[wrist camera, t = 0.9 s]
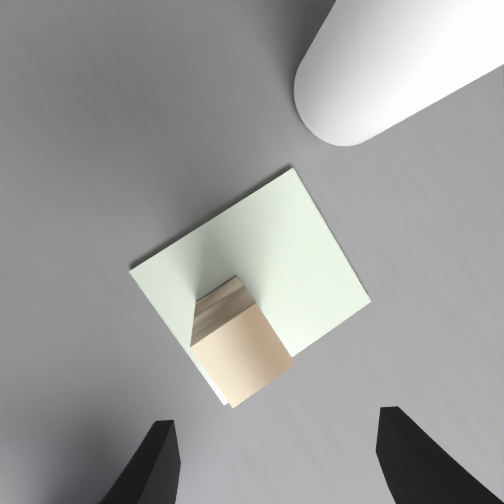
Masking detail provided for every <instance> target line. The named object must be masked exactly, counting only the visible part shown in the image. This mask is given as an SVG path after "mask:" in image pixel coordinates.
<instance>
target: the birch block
mask: <svg viewBox="0 0 504 504" xmlns="http://www.w3.org/2000/svg"><path fill="white" fill-rule="evenodd" d="M190 349H191V350H192V351H193V353H194V354H195V356H196V357H197V358H198V360H199V361H200V363H201V364H202V365H203V367H204V368H205V370H206V371H207V373H208V374H209V375H210V377H211V378H212V380H213V381H214V382H215V384H216V385H217V387H218V388H219V389H220V391H221V392H222V394H223V395H224V396H225V398H226V399H227V401H228V402H229V403H230V405H231V406H232V408H234V407H236V406H237V405H238V404H240V403H241V402H243V401H244V400H245V399H247V398H248V397H250V396H251V395H253V394H254V393H255V392H257V391H258V390H260V389H261V388H262V387H264V386H265V385H267V384H268V383H269V382H271V381H272V380H274V379H275V378H277V377H278V376H279V375H281V374H282V373H284V372H285V371H286V370H288V369H289V368H291V367H292V366H293V365H295V364H296V363H295V362H294V360H293V359H292V357H291V355H290V354H289V352H288V351H287V349H286V348H285V346H284V345H283V343H282V342H281V340H280V339H279V337H278V336H277V334H276V332H275V331H274V329H273V328H272V326H271V325H270V323H269V322H268V320H267V319H266V317H265V316H264V314H263V313H262V311H261V309H260V308H259V306H258V305H257V303H256V302H255V300H254V299H253V298H252V296H251V295H250V294H249V292H248V291H247V289H246V288H245V287H244V285H243V284H242V282H241V281H240V280H239V278H238V277H237V276H236V275H235V276H233V277H232V278H230V279H229V280H227V281H226V282H224V283H223V284H221V285H220V286H218V287H217V288H215V289H214V290H212V291H211V292H209V293H208V294H206V295H205V296H203V297H202V298H200V299H198V300H197V301H196V303H195V311H194V319H193V327H192V335H191V343H190Z"/></svg>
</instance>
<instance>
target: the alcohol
mask: <svg viewBox="0 0 504 504" xmlns="http://www.w3.org/2000/svg"><path fill="white" fill-rule="evenodd" d="M502 64H504V0H336V2H335V4H334V5H333V7H332V9H331V11H330V12H329V14H328V16H327V18H326V19H325V21H324V23H323V25H322V26H321V28H320V30H319V32H318V33H317V35H316V37H315V39H314V40H313V42H312V44H311V46H310V47H309V49H308V51H307V53H306V54H305V56H304V58H303V60H302V61H301V63H300V65H299V67H298V70H297V73H296V76H295V81H294V100H295V104H296V108H297V111H298V113H299V115H300V117H301V119H302V121H303V122H304V124H305V125H306V127H307V128H308V129H309V130H310V131H311V132H312V133H313V134H314V135H315V136H317V137H318V138H320V139H321V140H323V141H325V142H327V143H330V144H332V145H338V146H352V145H356V144H360V143H362V142H364V141H366V140H368V139H370V138H372V137H374V136H375V135H377V134H379V133H381V132H382V131H384V130H386V129H388V128H390V127H391V126H393V125H395V124H397V123H399V122H400V121H402V120H404V119H406V118H408V117H409V116H411V115H413V114H415V113H416V112H418V111H420V110H422V109H424V108H425V107H427V106H429V105H431V104H433V103H434V102H436V101H438V100H440V99H441V98H443V97H445V96H447V95H449V94H450V93H452V92H454V91H456V90H458V89H459V88H461V87H463V86H465V85H467V84H468V83H470V82H472V81H474V80H475V79H477V78H479V77H481V76H483V75H484V74H486V73H488V72H490V71H492V70H493V69H495V68H497V67H499V66H501V65H502Z"/></svg>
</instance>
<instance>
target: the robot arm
mask: <svg viewBox="0 0 504 504" xmlns="http://www.w3.org/2000/svg"><path fill="white" fill-rule="evenodd" d="M376 454H377V457H378V460H379V463H380V465H381V468H382V471H383V474H384V477H385V479H386V482H387V485H388V487H389V490H390V492H391V494H392V496H393V498H394V501H395V503H396V504H504V502H502V501H501V500H500V499H499V498H498V497H496V496H495V495H494V494H493V493H492V492H490V491H489V490H488V489H487V488H486V487H485V486H483V485H482V484H481V483H480V482H479V481H478V480H476V479H475V478H474V477H473V476H472V475H471V474H470V473H468V472H467V471H466V470H465V469H464V468H463V467H462V466H461V465H460V464H458V463H457V462H456V461H455V460H454V459H453V458H452V457H451V456H450V455H449V454H447V453H446V452H445V451H444V450H443V449H442V448H441V447H440V446H439V445H438V444H437V443H436V442H435V441H434V440H433V439H431V438H430V437H429V436H428V435H427V434H426V433H425V432H424V431H423V430H422V429H421V428H420V427H419V426H418V425H417V424H416V423H415V422H414V421H413V420H412V419H411V418H410V417H409V416H408V415H406V414H405V413H404V412H403V411H402V410H401V409H400V408H399V407H398V406H396V407H381V408H380V417H379V426H378V435H377V444H376ZM180 466H181V462H180V456H179V449H178V443H177V437H176V431H175V425H174V420H164V421H156V422H155V423H154V424H153V425H152V427H151V428H150V430H149V432H148V433H147V435H146V437H145V438H144V440H143V441H142V443H141V444H140V446H139V448H138V449H137V451H136V452H135V454H134V455H133V457H132V458H131V460H130V461H129V463H128V464H127V466H126V467H125V469H124V470H123V472H122V473H121V475H120V476H119V477H118V479H117V480H116V482H115V483H114V485H113V486H112V488H111V489H110V490H109V492H108V493H107V494H106V496H105V497H104V499H103V500H102V501H101V503H100V504H175V501H176V494H177V488H178V481H179V473H180Z"/></svg>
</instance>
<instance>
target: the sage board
mask: <svg viewBox="0 0 504 504" xmlns="http://www.w3.org/2000/svg"><path fill="white" fill-rule="evenodd" d="M129 273H130V274H131V275H132V277H133V278H134V280H135V281H136V282H137V284H138V285H139V287H140V288H141V289H142V291H143V292H144V294H145V295H146V296H147V298H148V299H149V301H150V302H151V303H152V305H153V306H154V308H155V309H156V310H157V312H158V313H159V315H160V316H161V317H162V319H163V320H164V322H165V323H166V324H167V326H168V327H169V329H170V330H171V331H172V333H173V334H174V336H175V337H176V338H177V340H178V341H179V343H180V344H181V345H182V347H183V348H184V350H185V351H186V352H187V354H188V355H189V357H190V358H191V359H192V361H193V362H194V364H195V365H196V366H197V368H198V369H199V371H200V372H201V373H202V375H203V376H204V378H205V379H206V380H207V382H208V383H209V385H210V386H211V387H212V389H213V390H214V392H215V393H216V394H217V396H218V397H219V399H220V400H221V401H222V403H223V404H224V405H225V404H227V403H228V401H227V399H226V398H225V396H224V395H223V394H222V392H221V391H220V389H219V388H218V387H217V385H216V384H215V382H214V381H213V380H212V378H211V377H210V375H209V374H208V373H207V371H206V370H205V368H204V367H203V365H202V364H201V363H200V361H199V360H198V358H197V357H196V356H195V354H194V353H193V351H192V350H191V349H190V343H191V335H192V327H193V319H194V311H195V303H196V301H197V300H198V299H200V298H202V297H203V296H205V295H206V294H208V293H209V292H211V291H212V290H214V289H215V288H217V287H218V286H220V285H221V284H223V283H224V282H226V281H227V280H229V279H230V278H232V277H233V276H235V275H236V276H237V277H238V278H239V280H240V281H241V282H242V284H243V285H244V287H245V288H246V289H247V291H248V292H249V294H250V295H251V296H252V298H253V299H254V300H255V302H256V303H257V305H258V306H259V308H260V309H261V311H262V313H263V314H264V316H265V317H266V319H267V320H268V322H269V323H270V325H271V326H272V328H273V329H274V331H275V332H276V334H277V336H278V337H279V339H280V340H281V342H282V343H283V345H284V346H285V348H286V349H287V351H288V352H289V354H290V355H291V357H293V356H295V355H296V354H297V353H299V352H300V351H302V350H303V349H304V348H306V347H307V346H309V345H310V344H312V343H313V342H314V341H316V340H317V339H319V338H320V337H322V336H323V335H324V334H326V333H327V332H329V331H330V330H331V329H333V328H334V327H336V326H337V325H339V324H340V323H341V322H343V321H344V320H346V319H347V318H348V317H350V316H351V315H353V314H354V313H356V312H357V311H358V310H360V309H361V308H363V307H364V306H365V305H367V304H368V303H370V302H371V300H370V299H369V297H368V295H367V294H366V292H365V290H364V288H363V287H362V285H361V283H360V282H359V280H358V278H357V276H356V275H355V273H354V271H353V270H352V268H351V266H350V264H349V263H348V261H347V259H346V258H345V256H344V254H343V252H342V251H341V249H340V247H339V246H338V244H337V242H336V240H335V239H334V237H333V235H332V234H331V232H330V230H329V228H328V227H327V225H326V223H325V222H324V220H323V218H322V216H321V215H320V213H319V211H318V210H317V208H316V206H315V204H314V203H313V201H312V199H311V198H310V196H309V194H308V192H307V191H306V189H305V187H304V186H303V184H302V182H301V180H300V179H299V177H298V175H297V174H296V172H295V170H294V168H292V169H290V170H289V171H287V172H286V173H284V174H282V175H281V176H279V177H278V178H276V179H274V180H273V181H271V182H270V183H268V184H267V185H265V186H263V187H262V188H260V189H259V190H257V191H255V192H254V193H252V194H251V195H249V196H248V197H246V198H244V199H243V200H241V201H240V202H238V203H236V204H235V205H233V206H232V207H230V208H229V209H227V210H225V211H224V212H222V213H221V214H219V215H218V216H216V217H214V218H213V219H211V220H210V221H208V222H206V223H205V224H203V225H202V226H200V227H199V228H197V229H195V230H194V231H192V232H191V233H189V234H187V235H186V236H184V237H183V238H181V239H180V240H178V241H176V242H175V243H173V244H172V245H170V246H168V247H167V248H165V249H164V250H162V251H161V252H159V253H157V254H156V255H154V256H153V257H151V258H149V259H148V260H146V261H145V262H143V263H142V264H140V265H138V266H137V267H135V268H134V269H132V270H131V271H129Z"/></svg>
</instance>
